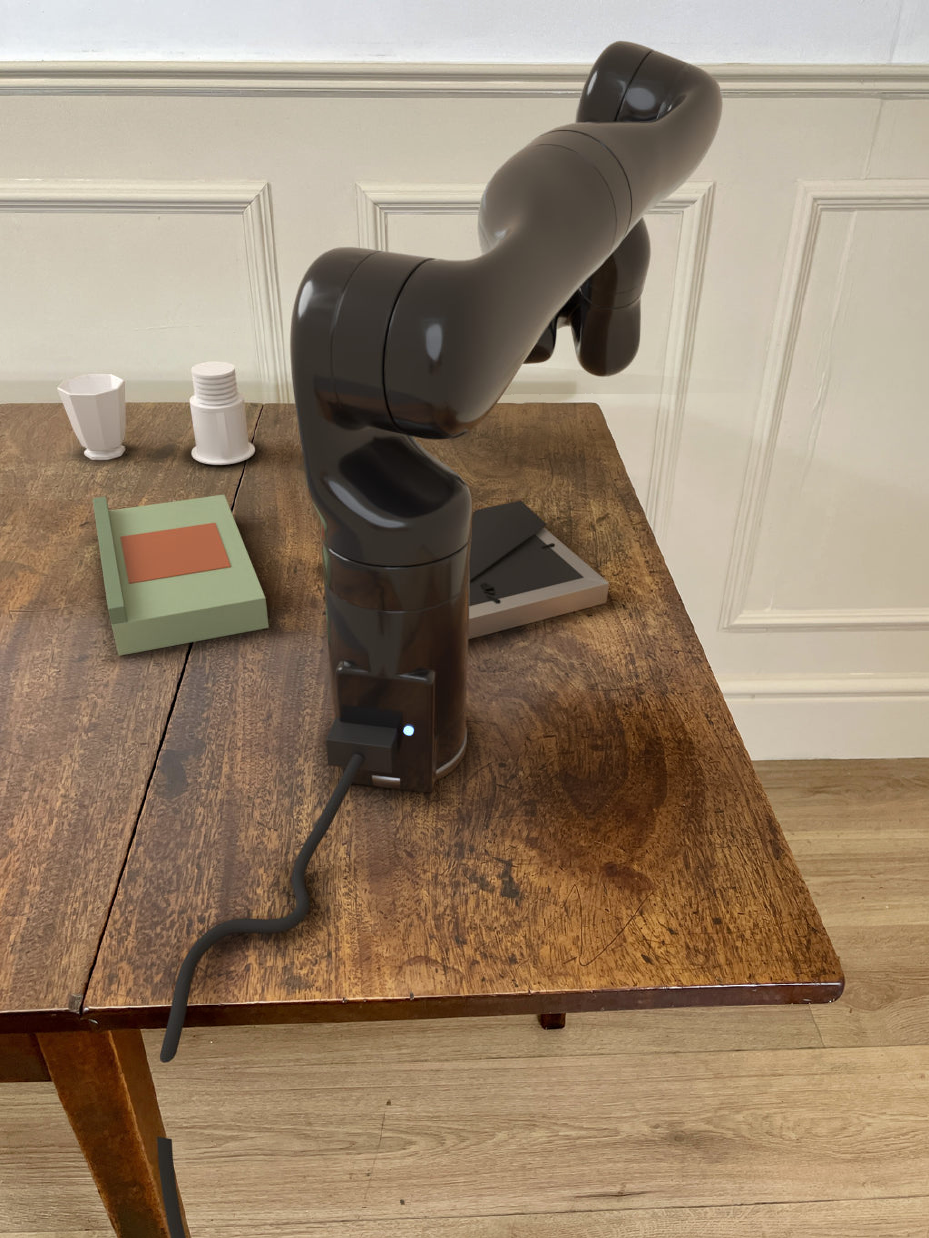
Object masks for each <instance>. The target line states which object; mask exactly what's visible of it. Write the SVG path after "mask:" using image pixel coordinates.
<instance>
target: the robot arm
mask: <svg viewBox="0 0 929 1238" xmlns="http://www.w3.org/2000/svg"><path fill="white" fill-rule="evenodd" d="M722 114H723V93H722V90H721V86H720V84H719V82H718V81H717V80H716V79H715V77H714V76H713V75H712V74H710V73H709V72H708V71H706V70H704V69H702V68H701V67H698V66H696V65H693V64H692V63H688V62H686V61H683V60H682V59H678V58H676V57H673V56H671V55H668V54H667V53H663V52H661V51H658V50H655V49H653V48H651V47H649V46H646V45H643V44H639V43H635V42H631V41H625V40H617V41H614V42H613V43H610V44H609V45H607V46H606V47H605V48H604V49H603V50H602V52H601V53H600V54H599V56H598V57H597V59H596V60H595V61H594V63H593V65H592V67H591V69H590V71H589V73H588V75H587V77H586V80H585V82H584V84H583V87H582V90H581V93H580V96H579V98H578V103H577V108H576V113H575V121H574V122H573V123H567V124H564V125H560V126H557V127H554V128H552V129H550V130H547V131H544V132H543V133H541V134H540V135H538V136H537V137H535V138H534V139H532V140H530V141H529V142H528V143H527V144H526V145H525V146H523V147H522V148H520V150H518V151H517V152H516V153H514V154H513V155H511V156H510V157H509V158H508V159H507V160H506V161H505V162H504V163H503V164H501V165H500V166H499V167H498V168H497V169H496V171H495V172H494V174H493V175H492V176H491V178H490V179H489V181H488V182H487V184H486V185H485V188H484V190H483V193H482V195H481V198H480V202H479V207H478V211H477V235H478V243H479V248H480V252H481V255H479V256H477V257H475V258H470V259H444V258H436V257H428V256H422V255H421V256H420V255H414V254H409V253H408V254H407V253H400V252H393V251H388V250H387V251H386V250H378V249H373V248H366V247H357V246H356V247H355V246H340V247H339V246H338V247H334V248H332V249H329V250H327V251H324V252H323V253H321V254H320V255H318V257H317V258H315V259H314V261H312V263H311V264H310V265H309V267H307V269H306V271H305V273H304V274H303V276H302V279H301V280H300V283H299V285H298V287H297V291H296V294H295V298H294V303H293V306H292V312H291V319H290V331H289V357H290V372H291V373H290V374H291V382H292V390H293V399H294V405H295V413H296V419H297V427H298V433H299V440H300V448H301V455H302V463H303V471H304V479H305V480H304V481H305V485H306V486H305V487H306V490H307V494H308V497H309V500H310V502H311V504H312V506H313V508H314V510H315V512H316V513H317V515H318V522H319V532H320V540H321V541H320V542H321V543H320V544H321V558H322V557H323V561H322V571H323V586H324V587H323V588H324V589H323V590H324V604H325V617H326V618H325V620H326V635H327V649H328V650H327V651H328V664H329V665H328V666H329V679H330V680H329V681H330V694H331V695H330V697H331V707H332V719H333V721H332V724H331V727H330V728H329V731H328V734H327V736H326V739H325V742H326V743H325V745H326V757H327V759H326V760H327V766H329V767H336V768H337V767H338V768H341V777H340V778H339V781H338V782H337V784H336V786H335V788H334V790H333V792H332V794H331V796H330V798H329V799H328V801H327V803H326V805H325V807H324V809H323V810H322V813H321V815H320V816H319V818H318V820H317V822H316V823H315V825H314V827H313V829H312V830H311V832H310V833H309V835H308V836H307V838H306V840H305V841H304V843H303V845H302V846H301V849H300V851H299V852H298V855H297V857H296V859H295V862H294V864H293V867H292V870H291V871H292V872H291V878H290V879H291V880H290V881H291V887H292V892H293V895H294V899H295V902H296V906H295V909H293V911H291V912H290V913H289V914H287V915H285V916H283V917H278V918H271V919H270V918H235V919H233V918H232V919H227V920H225V921H222V922H220V923H218V924H216V925H214V926H213V927H211V928H209V929H208V930H207V931H206V932H205V933H203V935H201V937H199V938H198V939H197V940H196V942H195V943H193V944H192V946H191V948H190V949H189V950H188V952H187V954H186V956H185V957H184V959H183V961H182V963H181V966H180V968H179V971H178V974H177V977H176V981H175V987H174V991H173V996H172V1002H171V1006H170V1010H169V1011H170V1012H169V1015H168V1016H169V1017H168V1020H167V1025H166V1028H165V1033H164V1036H163V1040H162V1045H161V1049H160V1054H159V1061H160V1062H162V1064H164V1063H165V1064H166V1063H169V1062H171V1061H173V1059H174V1058H175V1056H176V1055H177V1052H178V1047H179V1044H180V1039H181V1035H182V1032H183V1027H184V1024H185V1019H186V1013H187V1008H188V1003H189V999H190V998H189V996H190V993H191V987H192V981H193V978H194V974H195V972H196V968H197V966H198V964H199V962H200V960H201V959H202V958H203V956H204V955H205V953H207V951H209V949H210V948H211V947H213V946H214V945H215V944H216V943H217V942H218V941H220V940H221V939H223V938H224V937H228V936H230V935H234V934H261V935H262V934H265V935H266V934H269V935H270V934H279V933H284V932H288V931H290V930H292V929H294V928H296V927H297V926H298V925H300V924H301V923H302V922H303V921H304V920H305V918H307V915H308V913H309V911H310V908H311V901H310V895H309V893H308V889H307V887H306V883H305V881H306V880H305V876H306V872H307V869H308V866H309V864H310V861H311V859H312V857H313V855H314V853H315V851H316V850H317V848H318V846H319V845H320V843H321V842H322V840H323V839H324V837H325V835H326V833H327V832H328V830H329V829H330V826H331V825H332V823H333V821H334V819H335V817H336V815H337V813H338V811H339V810H340V808H341V805H342V804H343V801H344V800H345V798H346V796H347V794H348V792H349V790H350V788H351V787H352V784H357V785H363V786H370V787H371V786H372V787H378V788H385V789H394V790H404V791H412V792H419V793H426V794H427V793H428V794H429V793H432V792H433V790H434V786H435V784H436V782H437V781H439V780H441V779H443V778H445V777H446V776H447V775H449V774H451V773H452V772H453V771H454V770H455V769H456V768H457V767H458V766H459V765H460V763H461V762H462V761H463V759H464V757H465V754H466V751H467V745H468V729H467V706H468V705H467V704H468V701H467V698H468V667H469V666H468V665H469V664H468V663H469V639H468V635H469V603H470V574H471V547H472V524H473V513H474V504H473V496H472V493H471V492H472V491H471V490H470V488H469V486H468V484H467V483H466V481H465V480H464V479H463V478H462V476H460V474H459V473H457V472H456V471H455V470H454V469H453V468H451V467H450V466H448V465H447V464H445V463H444V462H442V461H441V460H440V459H438V458H436V456H434V455H433V454H431V453H430V452H429V451H428V450H427V449H425V448H424V447H423V446H421V444H419V442H418V441H417V440H416V438H418V439H424V440H431V441H447V440H455V439H457V438H460V437H462V436H465V435H467V434H468V433H470V432H471V431H473V430H474V429H475V428H476V427H477V426H479V424H481V422H482V421H484V419H485V418H486V417H487V416H488V415H489V413H491V411H492V410H493V409H494V407H496V405H497V403H499V401H500V399H501V398H502V396H503V395H504V394H505V392H506V390H507V389H508V388H509V385H510V384H512V381H513V380H514V378H515V376H516V375H517V373H518V372H519V370H520V369H521V368H522V366H523V365H533V364H535V365H536V364H542V363H546V362H547V361H549V360H550V359H551V358H552V356H553V355H554V352H555V349H556V344H557V337H558V330H559V329H562V328H565V327H570V331H571V337H572V341H573V347H574V352H575V356H576V360H577V362H578V365H580V367H581V368H582V369H583V370H584V371H585V372H587V374H590V375H592V376H595V377H599V378H606V377H608V378H609V377H612V376H615V375H618V374H620V373H622V372H623V371H625V370H626V369H627V368H628V367H629V366H630V365H631V364H632V363H633V361H634V360H635V358H636V357H637V355H638V352H639V349H640V344H641V331H642V329H641V328H642V327H641V326H642V325H641V323H642V310H641V309H642V308H641V307H642V306H641V303H642V294H643V291H644V288H645V284H646V280H647V276H648V272H649V267H650V262H651V256H652V251H651V250H652V248H651V238H650V233H649V231H648V227H647V224H646V221H645V218H644V216H645V215H646V214H647V213H649V212H650V211H651V210H652V209H653V208H655V207H656V206H658V205H660V203H662V202H663V201H665V199H667V198H669V197H670V196H671V195H672V194H674V193H675V192H676V191H678V190H679V188H681V187H683V185H684V184H686V182H687V181H688V180H689V179H690V178H691V177H692V175H694V173H695V172H696V170H697V169H698V167H700V165H701V163H702V162H703V160H704V159H705V158H706V155H707V154H708V152H709V151H710V149H711V147H712V145H713V142H714V140H715V138H716V136H717V133H718V130H719V126H720V124H721V118H722ZM156 1145H157V1147H156V1148H157V1160H158V1171H159V1179H160V1186H161V1193H162V1200H163V1205H164V1211H165V1212H164V1213H165V1216H166V1222H167V1228H168V1232H169V1235H170V1238H187V1237H186V1232H185V1228H184V1227H185V1226H184V1223H183V1219H182V1213H181V1209H180V1208H181V1206H180V1202H179V1196H178V1189H177V1183H176V1174H175V1173H176V1172H175V1166H174V1153H173V1151H174V1150H173V1139H172V1138H168V1137H163V1136H156Z"/></svg>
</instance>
